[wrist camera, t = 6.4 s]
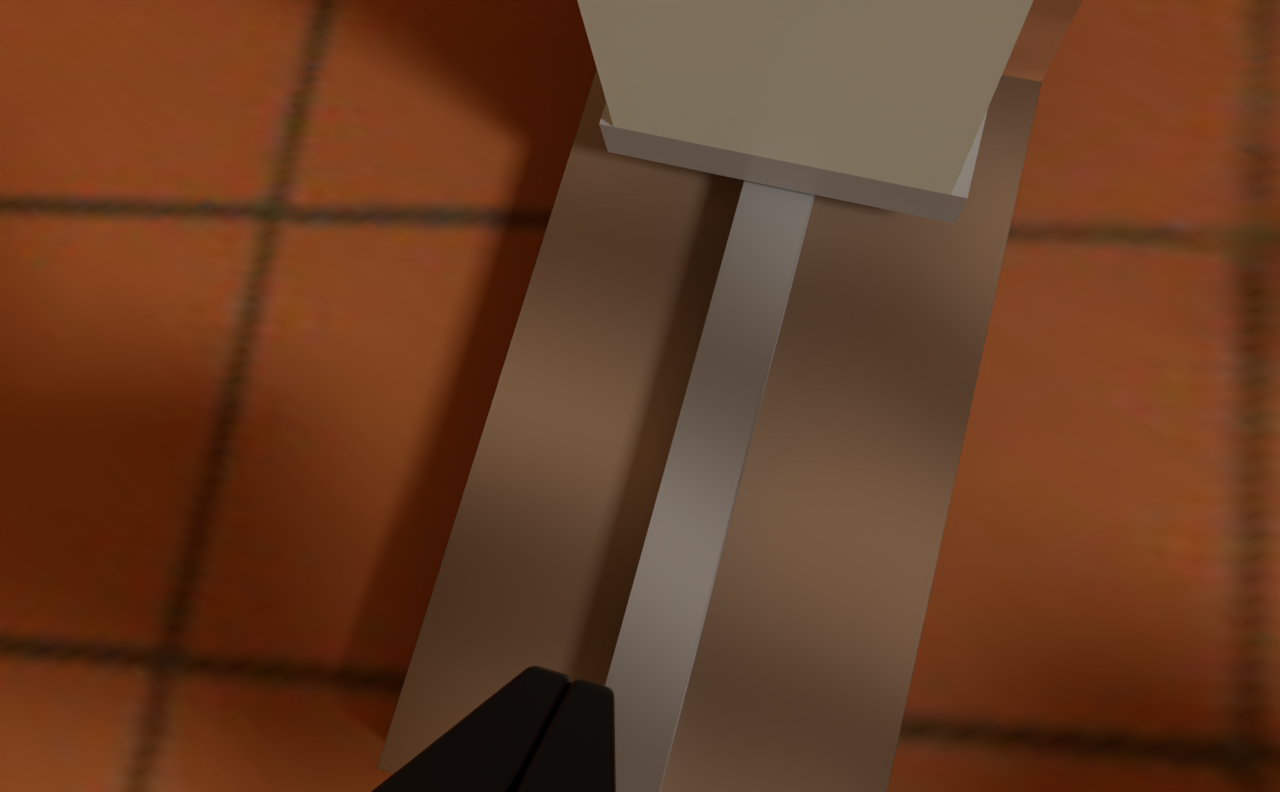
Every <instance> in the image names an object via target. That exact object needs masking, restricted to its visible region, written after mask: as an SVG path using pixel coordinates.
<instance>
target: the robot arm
mask: <svg viewBox="0 0 1280 792" xmlns="http://www.w3.org/2000/svg"><path fill="white" fill-rule="evenodd" d="M372 792H616V761H615V700H614V692H613V690H612V689H611V688H610V687H608V686H604V685H601V684H598V683H594V682H591V681H587V680H584V679H579V678H577V679H574V680H573V681H572V682H571V678H570V677H569V676H568V675H566V674H564V673H561V672H557V671H554V670H551V669H547V668H544V667H541V666H535V665H534V666H530V667H528V668H526V669H525V670H523V671H522V672H521V673H520V674H518V675H517V676H516V677H515V678H513V679H512V680H511V681H510V682H508V683H507V684H506V685H505V686H503V687H502V688H501V689H500V690H498V691H497V692H496V693H495V694H493V695H492V696H491V697H490V698H488V699H487V700H486V701H484V702H483V703H482V704H481V705H479V706H478V707H477V708H476V709H474V710H473V711H472V712H471V713H469V714H468V715H467V716H466V717H464V718H463V719H462V720H461V721H459V722H458V723H457V724H456V725H454V726H453V727H452V728H451V729H449V730H448V731H447V732H446V733H444V734H443V735H442V736H441V737H439V738H438V739H437V740H436V741H434V742H433V743H432V744H431V745H429V746H428V747H427V748H426V749H424V750H423V751H422V752H420V753H419V754H418V755H417V756H415V757H414V758H413V759H412V760H410V761H409V762H408V763H407V764H405V765H404V766H403V767H402V768H400V769H399V770H398V771H397V772H395V773H394V774H393V775H392V776H390V777H389V778H388V779H387V780H385V781H384V782H383V783H382V784H380V785H379V786H378V787H377V788H375V789H374V790H373V791H372Z"/></svg>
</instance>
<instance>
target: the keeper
mask: <svg viewBox="0 0 1280 792" xmlns="http://www.w3.org/2000/svg"><path fill="white" fill-rule="evenodd" d="M577 1H578V5H579V8H580V12H581V15H582V19H583V22H584V26H585V29H586V33H587V36H588V40H589V43H590V47H591V50H592V54H593V57H594V61H595V64H596V67H597V71H598V74H599V78H600V81H601V85H602V88H603V92H604V95H605V99H606V103H605V106H604V110H603V113H602V116H601V119H600V123H599V125H600V128H601V132H602V135H603V138H604V141H605V144H606V148H607V151H608V152H611V153H615V154H620V155H625V156H630V157H635V158H640V159H644V160H649V161H654V162H659V163H664V164H669V165H673V166H678V167H683V168H688V169H693V170H698V171H702V172H707V173H712V174H717V175H722V176H727V177H732V178H736V179H741V180H746V181H751V182H756V183H761V184H765V185H770V186H775V187H780V188H785V189H790V190H794V191H799V192H804V193H809V194H814V195H819V196H823V197H828V198H833V199H838V200H843V201H848V202H852V203H857V204H862V205H867V206H872V207H877V208H881V209H886V210H891V211H896V212H901V213H906V214H910V215H915V216H920V217H925V218H930V219H935V220H939V221H944V222H949V223H954V224H956V222H957V220H958V218H959V215H960V213H961V211H962V209H963V207H964V205H965V203H966V200H967V198H968V194H969V189H970V185H971V180H972V176H973V172H974V167H975V163H976V159H977V154H978V150H979V145H980V141H981V137H982V132H983V128H984V123H985V119H986V115H987V110H988V107H989V104H990V102H991V100H992V97H993V95H994V93H995V90H996V88H997V85H998V83H999V81H1000V78H1001V76H1002V74H1003V71H1004V69H1005V67H1006V64H1007V62H1008V59H1009V57H1010V55H1011V52H1012V50H1013V48H1014V45H1015V43H1016V41H1017V38H1018V36H1019V33H1020V31H1021V29H1022V26H1023V24H1024V22H1025V19H1026V17H1027V15H1028V12H1029V10H1030V7H1031V5H1032V3H1033V0H577Z"/></svg>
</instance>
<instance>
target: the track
mask: <svg viewBox="0 0 1280 792" xmlns="http://www.w3.org/2000/svg"><path fill="white" fill-rule="evenodd" d="M1081 2H1082V0H1033V3H1032V5H1031V7H1030V10H1029V12H1028V15H1027V17H1026V19H1025V22H1024V24H1023V26H1022V29H1021V31H1020V33H1019V36H1018V38H1017V41H1016V43H1015V45H1014V48H1013V50H1012V52H1011V55H1010V57H1009V59H1008V62H1007V64H1006V67H1005V69H1004V71H1003V74H1002V76H1001V78H1000V81H999V83H998V85H997V88H996V90H995V93H994V95H993V97H992V100H991V102H990V104H989V107H988V110H987V115H986V119H985V123H984V128H983V132H982V137H981V141H980V145H979V150H978V154H977V159H976V163H975V167H974V172H973V176H972V180H971V185H970V189H969V194H968V198H967V200H966V203H965V205H964V207H963V209H962V211H961V213H960V215H959V218H958V220H957V222H956V224H954V223H949V222H944V221H939V220H935V219H930V218H925V217H920V216H915V215H910V214H906V213H901V212H896V211H891V210H886V209H881V208H877V207H872V206H867V205H862V204H857V203H852V202H848V201H843V200H838V199H833V198H828V197H823V196H819V195H814V194H809V193H804V192H799V191H794V190H790V189H785V188H780V187H775V186H770V185H765V184H761V183H756V182H751V181H746V180H741V179H736V178H732V177H727V176H722V175H717V174H712V173H707V172H702V171H698V170H693V169H688V168H683V167H678V166H673V165H669V164H664V163H659V162H654V161H649V160H644V159H640V158H635V157H630V156H625V155H620V154H615V153H611V152H608V151H607V148H606V144H605V141H604V138H603V135H602V132H601V128H600V125H599V123H600V119H601V116H602V113H603V110H604V106H605V103H606V99H605V95H604V92H603V88H602V85H601V81H600V78H599V74H598V71H597V69H596V73H595V76H594V79H593V82H592V85H591V88H590V92H589V95H588V98H587V101H586V104H585V108H584V111H583V114H582V117H581V120H580V124H579V127H578V130H577V133H576V136H575V139H574V143H573V146H572V149H571V152H570V155H569V159H568V162H567V165H566V168H565V171H564V174H563V178H562V181H561V184H560V187H559V190H558V194H557V197H556V200H555V203H554V206H553V210H552V213H551V216H550V219H549V222H548V225H547V229H546V232H545V235H544V238H543V241H542V245H541V248H540V251H539V254H538V257H537V260H536V264H535V267H534V270H533V273H532V276H531V280H530V283H529V286H528V289H527V292H526V295H525V299H524V302H523V305H522V308H521V311H520V315H519V318H518V321H517V324H516V327H515V331H514V334H513V337H512V340H511V343H510V346H509V350H508V353H507V356H506V359H505V362H504V366H503V369H502V372H501V375H500V378H499V381H498V385H497V388H496V391H495V394H494V397H493V401H492V404H491V407H490V410H489V413H488V416H487V420H486V423H485V426H484V429H483V432H482V436H481V439H480V442H479V445H478V448H477V452H476V455H475V458H474V461H473V464H472V467H471V471H470V474H469V477H468V480H467V483H466V487H465V490H464V493H463V496H462V499H461V502H460V506H459V509H458V512H457V515H456V518H455V522H454V525H453V528H452V531H451V534H450V537H449V541H448V544H447V547H446V550H445V553H444V557H443V560H442V563H441V566H440V569H439V573H438V576H437V579H436V582H435V585H434V588H433V592H432V595H431V598H430V601H429V604H428V608H427V611H426V614H425V617H424V620H423V623H422V627H421V630H420V633H419V636H418V639H417V643H416V646H415V649H414V652H413V655H412V659H411V662H410V665H409V668H408V671H407V674H406V678H405V681H404V684H403V687H402V690H401V694H400V697H399V700H398V703H397V706H396V709H395V713H394V716H393V719H392V722H391V725H390V729H389V732H388V735H387V738H386V741H385V744H384V748H383V751H382V754H381V757H380V760H379V764H378V767H377V768H378V769H381V770H384V771H387V772H390V773H393V774H394V773H395V772H397V771H398V770H399V769H400V768H402V767H403V766H404V765H405V764H407V763H408V762H409V761H410V760H412V759H413V758H414V757H415V756H417V755H418V754H419V753H420V752H422V751H423V750H424V749H426V748H427V747H428V746H429V745H431V744H432V743H433V742H434V741H436V740H437V739H438V738H439V737H441V736H442V735H443V734H444V733H446V732H447V731H448V730H449V729H451V728H452V727H453V726H454V725H456V724H457V723H458V722H459V721H461V720H462V719H463V718H464V717H466V716H467V715H468V714H469V713H471V712H472V711H473V710H474V709H476V708H477V707H478V706H479V705H481V704H482V703H483V702H484V701H486V700H487V699H488V698H490V697H491V696H492V695H493V694H495V693H496V692H497V691H498V690H500V689H501V688H502V687H503V686H505V685H506V684H507V683H508V682H510V681H511V680H512V679H513V678H515V677H516V676H517V675H518V674H520V673H521V672H522V671H523V670H525V669H526V668H528V667H530V666H534V665H535V666H541V667H544V668H547V669H551V670H554V671H557V672H561V673H564V674H566V675H568V676H569V677H570V678H571V682H572V681H573V680H574V679H577V678H579V679H584V680H587V681H591V682H594V683H598V684H601V685H604V686H608V687H610V688H611V689H612V690H613V692H614V700H615V761H616V792H887V789H888V784H889V780H890V775H891V770H892V766H893V761H894V757H895V752H896V747H897V743H898V738H899V734H900V729H901V724H902V720H903V715H904V711H905V706H906V701H907V697H908V692H909V688H910V683H911V678H912V674H913V669H914V665H915V660H916V656H917V651H918V646H919V642H920V637H921V633H922V628H923V623H924V619H925V614H926V610H927V605H928V600H929V596H930V591H931V587H932V582H933V577H934V573H935V568H936V564H937V559H938V555H939V550H940V545H941V541H942V536H943V532H944V527H945V522H946V518H947V513H948V509H949V504H950V499H951V495H952V490H953V486H954V481H955V476H956V472H957V467H958V463H959V458H960V453H961V449H962V444H963V440H964V435H965V431H966V426H967V421H968V417H969V412H970V408H971V403H972V398H973V394H974V389H975V385H976V380H977V375H978V371H979V366H980V362H981V357H982V352H983V348H984V343H985V339H986V334H987V329H988V325H989V320H990V316H991V311H992V307H993V302H994V297H995V293H996V288H997V284H998V279H999V274H1000V270H1001V265H1002V261H1003V256H1004V251H1005V247H1006V242H1007V238H1008V233H1009V228H1010V224H1011V219H1012V215H1013V210H1014V205H1015V201H1016V196H1017V192H1018V187H1019V183H1020V178H1021V173H1022V169H1023V164H1024V160H1025V155H1026V150H1027V146H1028V141H1029V137H1030V132H1031V127H1032V123H1033V118H1034V114H1035V109H1036V104H1037V100H1038V95H1039V91H1040V86H1041V82H1042V80H1043V78H1044V76H1045V74H1046V72H1047V70H1048V68H1049V66H1050V64H1051V62H1052V60H1053V58H1054V56H1055V54H1056V52H1057V50H1058V48H1059V46H1060V44H1061V42H1062V40H1063V38H1064V36H1065V34H1066V32H1067V30H1068V28H1069V26H1070V24H1071V22H1072V20H1073V18H1074V16H1075V14H1076V12H1077V10H1078V8H1079V6H1080V4H1081Z"/></svg>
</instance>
